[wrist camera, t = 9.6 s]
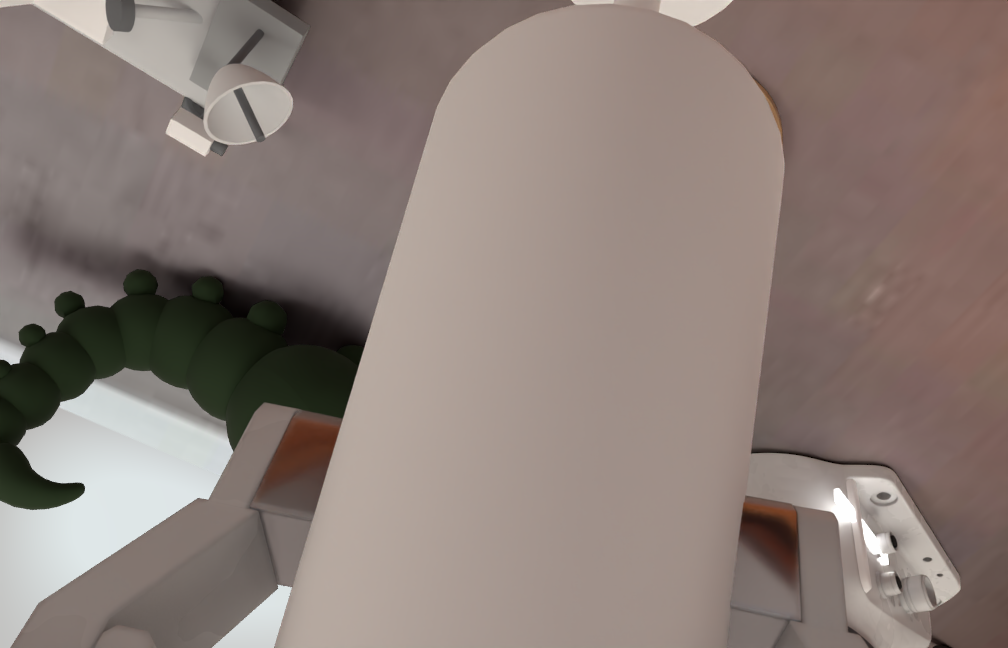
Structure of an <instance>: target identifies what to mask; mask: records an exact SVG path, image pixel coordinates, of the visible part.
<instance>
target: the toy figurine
mask: <svg viewBox="0 0 1008 648" xmlns="http://www.w3.org/2000/svg"><path fill="white" fill-rule="evenodd" d="M123 285H124V291H125V292H126V294H127V295H128V296H126V297H124V298H122V299H120V300H118V301H117V302H116V303H115V304H113V305H112V306H111V307H110V308H108V307H103V306H91V307H85V303H84V300H83V297H82V296H81V295H79V294H76V293H74V292H72V291H68V292H64V293H61V294H60V295H59V296H58V297H57V298H56V299H55V302H54V303H55V311H56V312H57V314H58V315H59V316H61V317H63V318H64V319H63V320H62V322H61V323H60V324H59V326H58V329H57V331H56V332H52V333H48V334H46V333H45V330H44V329H43V328H42V327H41V326H39V325H36V324H29V325H26V326H24V327H23V328H22V329H21V330H20V331H19V340H20V342H21V344H22V345H24V346H26V348H25V350H24V352H23V354H22V356H21V358H20V363H18V364H13V365H10V364H9V363H8V362H7V361H5V360H0V501H2V502H5V503H7V504H9V505H11V506H14V507H18V508H24V509H30V510H37V509H49V508H54V507H58V506H61V505H63V504H67V503H69V502H71V501H74V500H75V499H77V498H79V497H80V496H81V495H82V494H83V493H84V491H85V486H84V484H82V483H56V482H52V481H49V480H46V479H44V478H43V477H41V476H40V475H38V474H37V473H36V472H35V471H34V470H33V469H32V468H31V466H30V464H29V461H28V460H27V458H26V457H25V455H24V454H23V452H22V451H21V450H20V449H19V448H18V447H17V446H16V445H18V444H19V442H20V441H21V439H22V437H23V436H24V435H25V433H26V430H28V429H33V428H35V427H38V426H41V425H43V424H44V423H46V422H47V421H48V420H50V419H51V418H52V416H53V415H54V414H55V412H56V410H57V409H58V407H59V406H60V402H62V401H67V400H70V399H74V398H76V397H78V396H80V395H81V394H83V393H84V392H85V391H86V390H87V388H88V387H89V386H90V385H91V384H92V383H93V381H94V379H102V378H107V377H110V376H113V375H114V374H116V373H118V372H119V371H121V370H122V369H123V368H124V367H126V368H129V369H132V370H138V371H150V370H151V371H152V372H153V373H154V374H155V375H156V376H157V377H158V378H160V379H161V380H162V381H164V382H166V383H168V384H170V385H173V386H175V387H179V388H184V389H189V391H190V393H191V395H192V397H193V398H194V400H195V401H196V402H197V403H198V404H199V405H200V407H201V408H202V409H203V410H205V411H206V412H207V413H209V414H210V415H211V416H214V417H216V418H218V419H221V420H224V421H226V426H227V434H228V438H229V442H230V445H231V447H232V449H233V452H234V450H235V448H236V446H237V445H238V443H239V441H240V439H241V437H242V435H243V433H244V431H245V429H246V428H247V426H248V424H249V422H250V420H251V418H252V416H253V414H254V412H255V411H256V410H257V409H258V408H259V407H260V406H261V405H262V404H263V403H264V402H265V403H270V404H275V405H280V406H285V407H291V408H296V409H301V410H304V411H309V412H313V413H318V414H323V415H328V416H332V417H337V418H342V419H343V417H344V414H345V410H346V407H347V404H348V400H349V397H350V394H351V390H352V387H353V384H354V381H355V377H356V374H357V371H358V367H359V364H360V361H361V357H362V354H363V351H364V348H363V347H361V346H357V345H349V346H343V347H342V348H340V349H339V350H338V351H336V352H335V351H333V350H330V349H327V348H324V347H320V346H315V345H291V346H288V344H287V342H286V341H285V339H284V338H283V337H282V336H281V335H282V334H283V332H284V330H285V327H286V324H287V314H286V312H285V311H284V310H283V309H282V308H281V307H280V306H279V305H278V304H277V303H276V302H272V301H268V300H264V301H262V302H259V303H257V304H255V305H253V306H252V307H251V309H250V311H249V313H248V316H247V318H233V316H232V315H231V313H230V312H229V311H228V310H227V309H226V308H224V307H223V306H222V305H220V304H219V303H220V302H221V301H222V300H223V296H224V291H223V285H222V283H221V282H220V281H219V280H217V279H215V278H213V277H212V276H206V277H201V278H199V279H198V280H197V281H196V282H195V283H194V284H193V285H192V295H190V296H179V297H176V298H173V299H170V300H167V299H166V298H164V297H162V296H159V295H155V293H156V290H157V287H158V283H157V280H156V278H155V277H154V276H153V275H152V274H151V273H150V272H149V271H145V270H139V269H137V270H135V271H133V272H131V273H129V274H128V275H127V276H126V279H125V281H124V283H123Z"/></svg>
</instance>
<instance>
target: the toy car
mask: <svg viewBox="0 0 1008 648" xmlns="http://www.w3.org/2000/svg"><path fill="white" fill-rule="evenodd" d="M25 4H33V5H34V6H36V7H38V8H39V9H41V10H42V11H44V12H46V13H47V14H49V15H51V16H52V17H54V18H56V19H57V20H59V21H61V22H62V23H64V24H66V25H67V26H69V27H71V28H72V29H74V30H76V31H77V32H79V33H81V34H82V35H84V36H85V37H87V38H89V39H90V40H92V41H94V42H95V43H97V44H99V45H100V46H102V47H104V48H105V49H107V50H109V51H110V52H112V53H114V54H115V55H117V56H119V57H120V58H122V59H124V60H125V61H127V62H128V63H130V64H132V65H133V66H135V67H137V68H138V69H140V70H142V71H143V72H145V73H147V74H148V75H150V76H152V77H153V78H155V79H157V80H158V81H160V82H162V83H163V84H165V85H167V86H168V87H170V88H171V89H173V90H175V91H176V92H178V93H180V94H181V95H183V96H185V97H184V100H183V103H182V107H181V108H180V109H179V110H178V111H177V112H176V113H175V114H174V116H173V117H172V118H171V120H170V123H169V125H168V128H167V130H166V134H167V135H169V136H171V137H173V138H174V139H176V140H178V141H179V142H181V143H183V144H184V145H186V146H188V147H189V148H191V149H193V150H195V151H196V152H198V153H200V154H201V155H203V156H206V155H207V154H208V153H209V151H210V150H212V151H214V152H215V153H217V154H219V155H220V156H222V155H223V154H224V153H225V151H226V149H227V147H228V145H227V144H230V145H240V144H248V143H252V142H256V141H257V142H262V141H264V140H265V137H268V136H269V135H271V134H272V133H274V132H275V131H277V130H278V129H279V128H280V127H281V126H282V125H283V124H284V123H285V122H286V121H287V119H288V118H289V116H290V114H291V112H292V109H293V99H292V96H291V94H290V92H289V91H288V90H287V89H286V88H284V87H283V86H282V84H283V82H284V80H285V78H286V76H287V74H288V72H289V70H290V68H291V66H292V64H293V62H294V60H295V58H296V56H297V54H298V52H299V50H300V47H301V45H302V43H303V41H304V39H305V37H306V35H307V33H308V31H309V29H310V27H311V26H309V25H308V24H306V23H305V22H303V21H302V20H300V19H299V18H297V17H295V16H294V15H292V14H291V13H289V12H288V11H286V10H285V9H283V8H282V7H280V6H279V5H277V4H276V3H274V2H272V1H271V0H0V7H9V6H17V5H25Z"/></svg>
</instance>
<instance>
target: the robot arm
mask: <svg viewBox="0 0 1008 648" xmlns="http://www.w3.org/2000/svg"><path fill="white" fill-rule="evenodd" d="M342 420H343V419H342V418H337V417H332V416H328V415H323V414H318V413H313V412H309V411H304V410H301V409H296V408H291V407H285V406H280V405H275V404H270V403H265V402H264V403H263V404H262V405H261V406H260V407H259V408H258V409H257V410H256V411H255V412H254V414H253V416H252V418H251V420H250V422H249V424H248V426H247V428H246V429H245V431H244V433H243V435H242V437H241V439H240V441H239V443H238V445H237V446H236V448H235V450H234V452H233V454H232V456H231V458H230V460H229V462H228V464H227V465H226V467H225V469H224V471H223V473H222V475H221V477H220V479H219V481H218V483H217V484H216V486H215V488H214V490H213V492H212V494H211V496H210V498H209V500H206V499H200V498H197V499H196V500H194V501H193V502H192V503H190V504H188V505H187V506H185V507H184V508H182V509H181V510H179V511H178V512H176V513H175V514H173V515H172V516H170V517H169V518H167V519H166V520H164V521H163V522H161V523H160V524H158V525H156V526H155V527H153V528H152V529H150V530H149V531H147V532H146V533H144V534H143V535H141V536H140V537H138V538H137V539H135V540H134V541H132V542H131V543H129V544H128V545H126V546H125V547H123V548H122V549H120V550H119V551H117V552H116V553H114V554H113V555H111V556H110V557H108V558H106V559H105V560H103V561H102V562H100V563H99V564H97V565H96V566H94V567H93V568H91V569H90V570H88V571H87V572H85V573H84V574H82V575H81V576H79V577H78V578H76V579H74V580H73V581H71V582H70V583H69V584H67V585H66V586H64V587H62V588H61V589H59V590H58V591H57V592H55V593H53V594H52V595H50V596H49V597H47V598H46V599H44V600H43V601H41V602H40V603H39V604H38V605H37V606H36V608H35V610H34V611H33V613H32V614H31V616H30V618H29V619H28V621H27V622H26V624H25V626H24V627H23V629H22V630H21V632H20V634H19V635H18V637H17V638H16V640H15V641H14V643H13V645H12V646H11V648H212V647H213V646H214V645H215V644H216V643H217V642H218V641H220V640H221V639H222V638H223V637H224V636H225V635H226V634H227V633H229V631H231V630H232V629H233V628H234V627H235V626H236V625H238V624H239V623H240V621H242V620H243V619H244V618H245V617H247V615H249V613H251V612H252V611H253V610H254V609H255V608H256V607H258V606H259V605H260V604H261V603H262V602H263V601H264V600H266V599H267V598H268V597H269V596H270V595H271V594H272V593H273V592H275V591H276V590H277V589H278V585H283V586H288V587H292V586H293V583H294V580H295V577H296V573H297V570H298V567H299V563H300V560H301V557H302V553H303V550H304V547H305V543H306V540H307V537H308V533H309V530H310V527H311V523H312V520H313V518H314V514H315V511H316V507H317V504H318V501H319V497H320V494H321V491H322V487H323V484H324V480H325V477H326V474H327V470H328V467H329V464H330V460H331V457H332V454H333V450H334V447H335V444H336V440H337V437H338V434H339V430H340V427H341V424H342ZM277 584H278V585H277ZM960 589H961V584H960V576H959V574H958V572H957V571H956V569H955V567H954V566H953V564H952V563H951V561H950V559H949V558H948V556H947V555H946V553H945V551H944V550H943V548H942V547H941V545H940V543H939V542H938V540H937V539H936V537H935V535H934V534H933V532H932V531H931V529H930V527H929V526H928V524H927V523H926V521H925V519H924V518H923V516H922V515H921V513H920V512H919V510H918V508H917V507H916V505H915V504H914V502H913V500H912V499H911V497H910V496H909V494H908V492H907V491H906V489H905V488H904V486H903V484H902V483H901V481H900V480H899V478H898V476H897V475H896V473H895V472H894V471H892V470H891V469H889V468H887V467H883V466H876V465H840V464H834V463H829V462H825V461H821V460H818V459H814V458H810V457H805V456H799V455H792V454H783V453H753V454H751V456H750V464H749V472H748V481H747V489H746V495H745V501H744V503H743V509H742V517H741V524H740V531H739V539H738V547H737V554H736V562H735V570H734V578H733V586H732V594H731V601H730V607H731V618H730V629H729V638H728V646H727V648H928V646H929V644H930V642H931V621H930V612H929V611H930V610H934V609H935V608H936V607H937V606H939V605H941V604H943V603H944V602H946V601H948V600H949V599H951V598H952V597H953V596H955V595H956V594H957V593H958V592H959V591H960ZM933 648H949V647H945V646H934V647H933Z"/></svg>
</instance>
